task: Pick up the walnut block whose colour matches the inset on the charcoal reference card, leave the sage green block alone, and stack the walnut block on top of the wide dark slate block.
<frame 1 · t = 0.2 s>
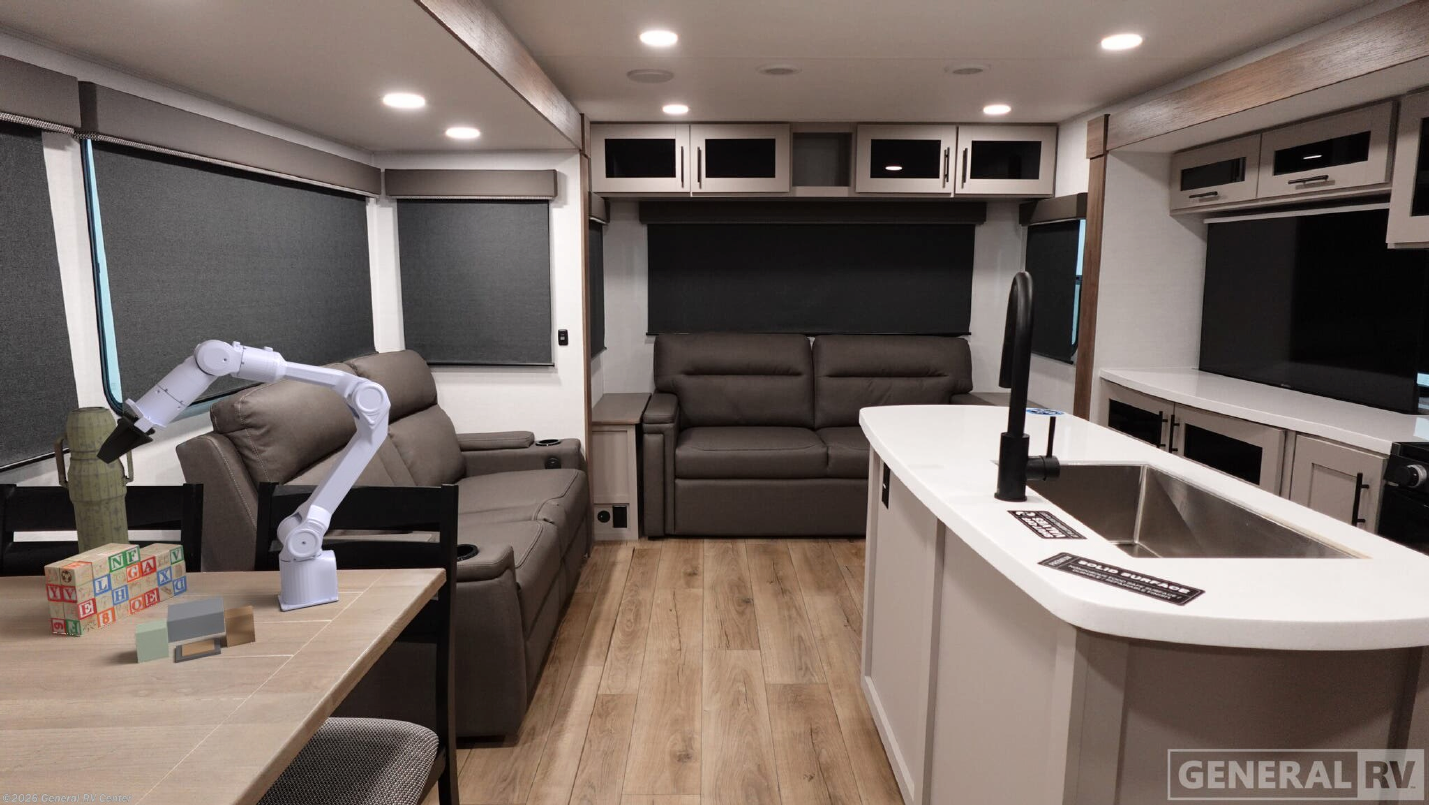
hand: (103, 456, 131), 31 cm above the table, tool tilted 45°, fingers open, 7 cm apart
sage green block: (154, 655, 129), on the table
stack of blocks: (124, 612, 146), on the table
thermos: (107, 583, 159), on the table
slate base block: (197, 630, 139), on the table
walnut block: (240, 640, 134), on the table
reference card: (198, 650, 130), on the table
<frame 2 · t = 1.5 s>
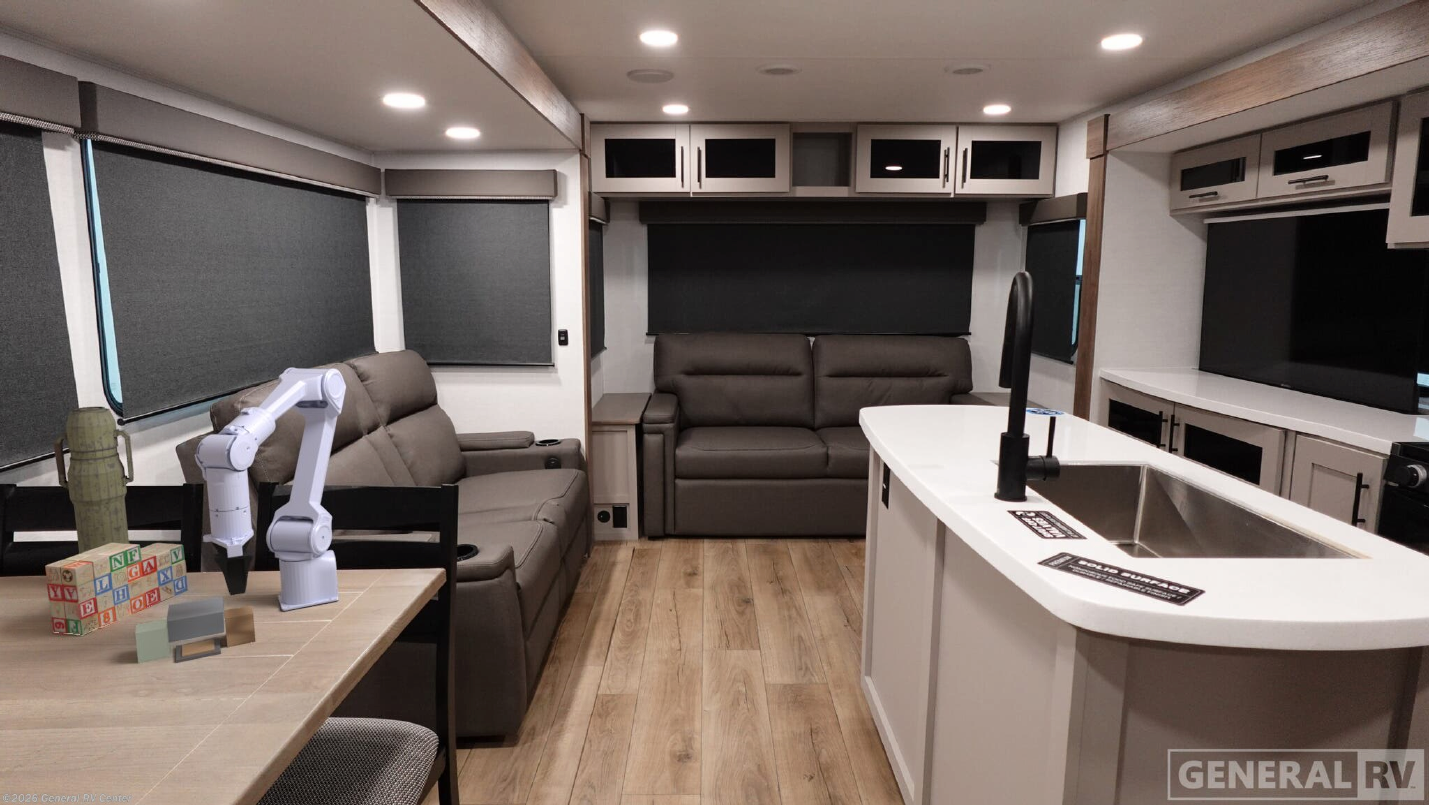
hand: (236, 586, 133), 9 cm above the table, tool pointing down, fingers open, 7 cm apart
nothing on the table moved.
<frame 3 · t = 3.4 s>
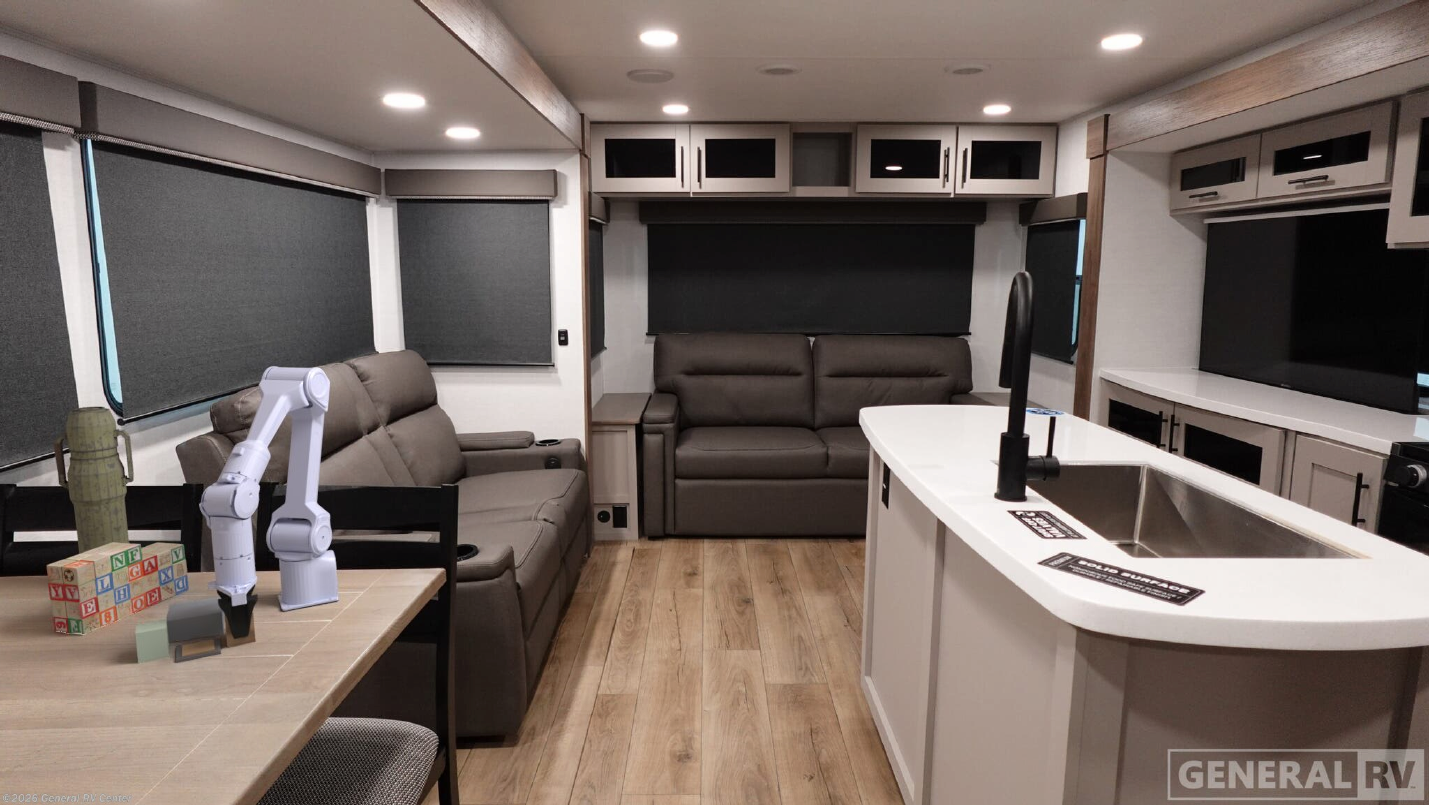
hand: (240, 632, 134), 1 cm above the table, tool pointing down, fingers closed on walnut block, 4 cm apart
walnut block: (240, 640, 134), on the table, touching gripper
everything else where it was.
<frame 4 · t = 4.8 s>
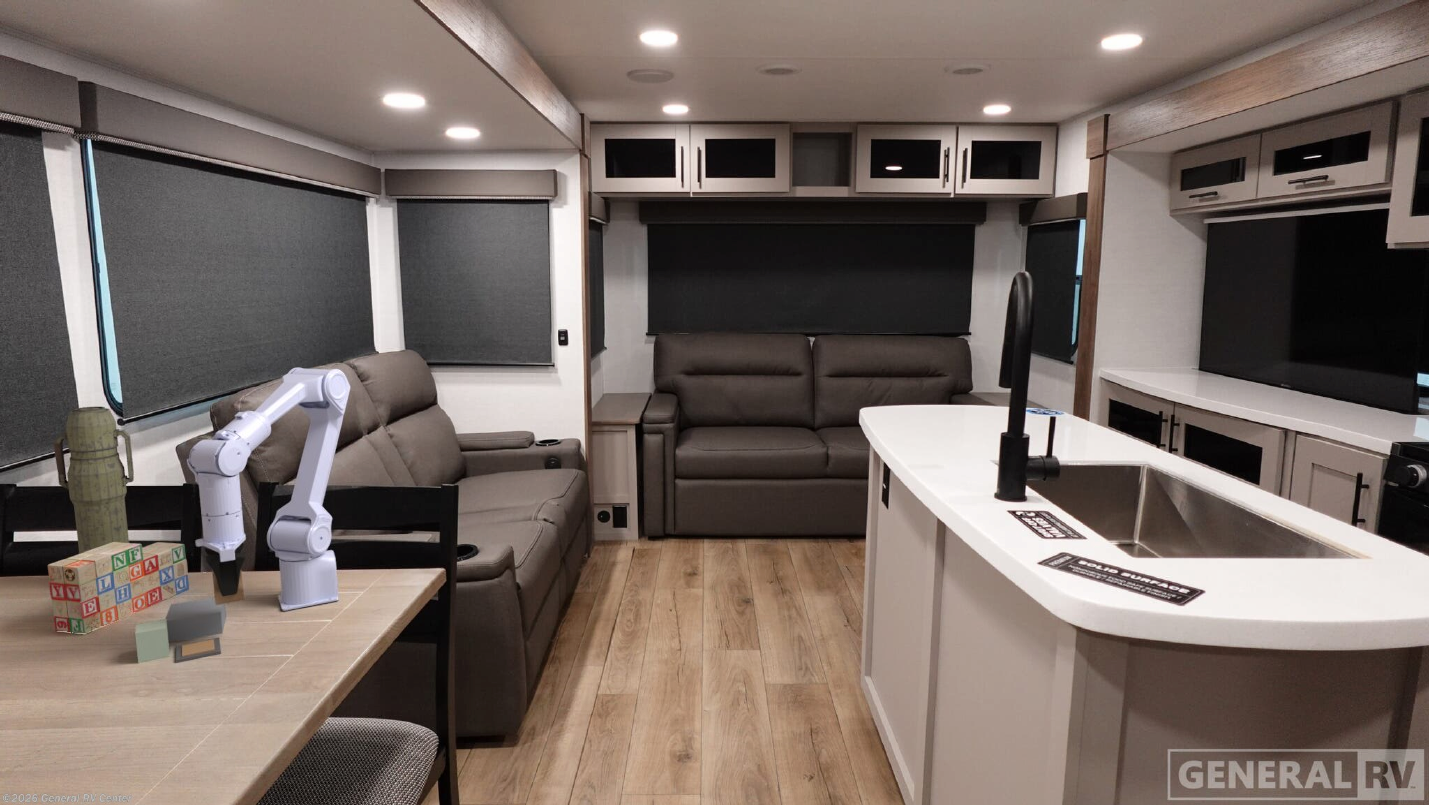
hand: (228, 590, 134), 8 cm above the table, tool pointing down, fingers closed on walnut block, 4 cm apart
walnut block: (229, 598, 134), point 7 cm above the table, touching gripper
everything else where it was.
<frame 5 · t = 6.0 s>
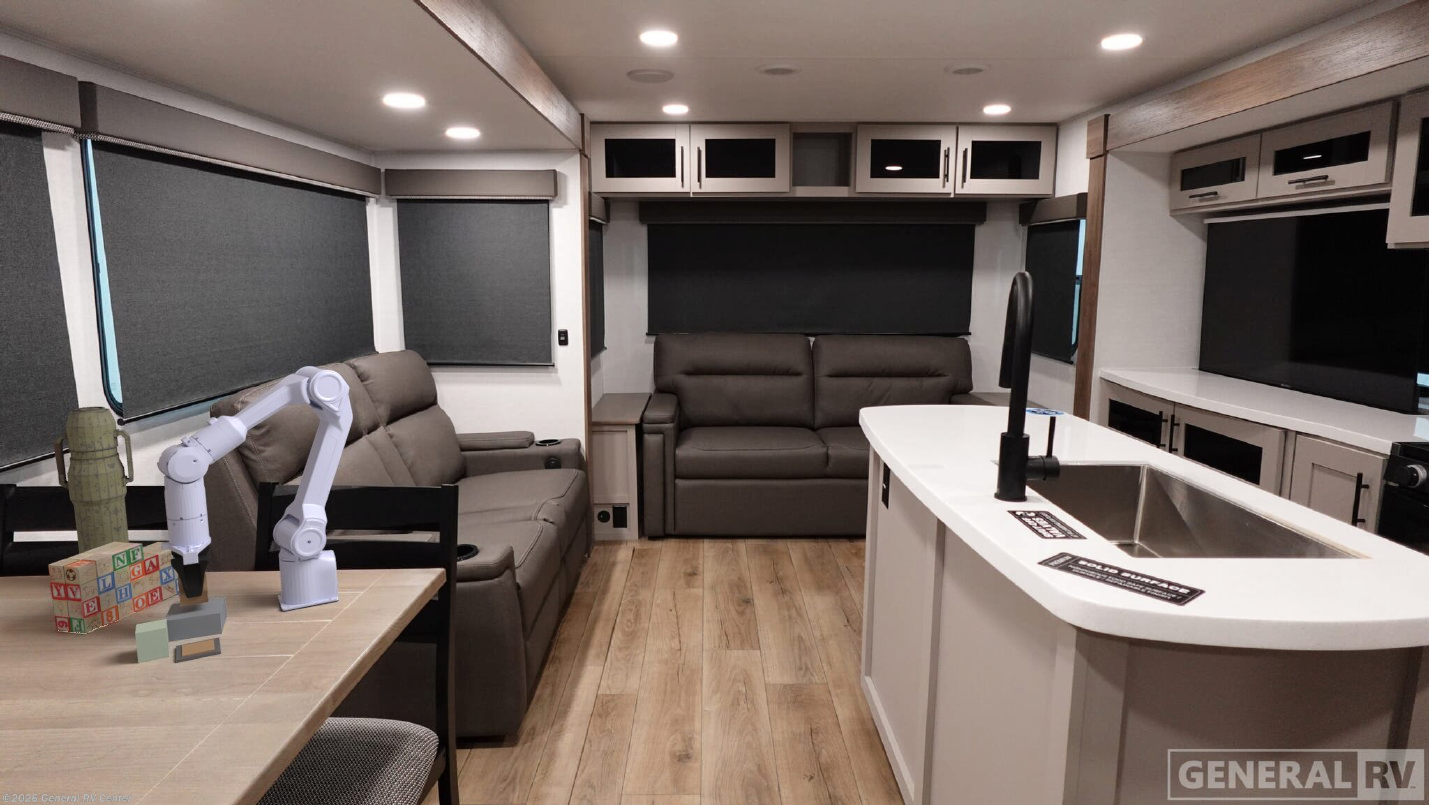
hand: (194, 592, 137), 7 cm above the table, tool pointing down, fingers closed on walnut block, 4 cm apart
walnut block: (194, 600, 138), point 5 cm above the table, touching gripper
everything else where it was.
when the fingers open (7 cm above the table, at t = 6.5 s): walnut block drops 1 cm, resting on slate base block.
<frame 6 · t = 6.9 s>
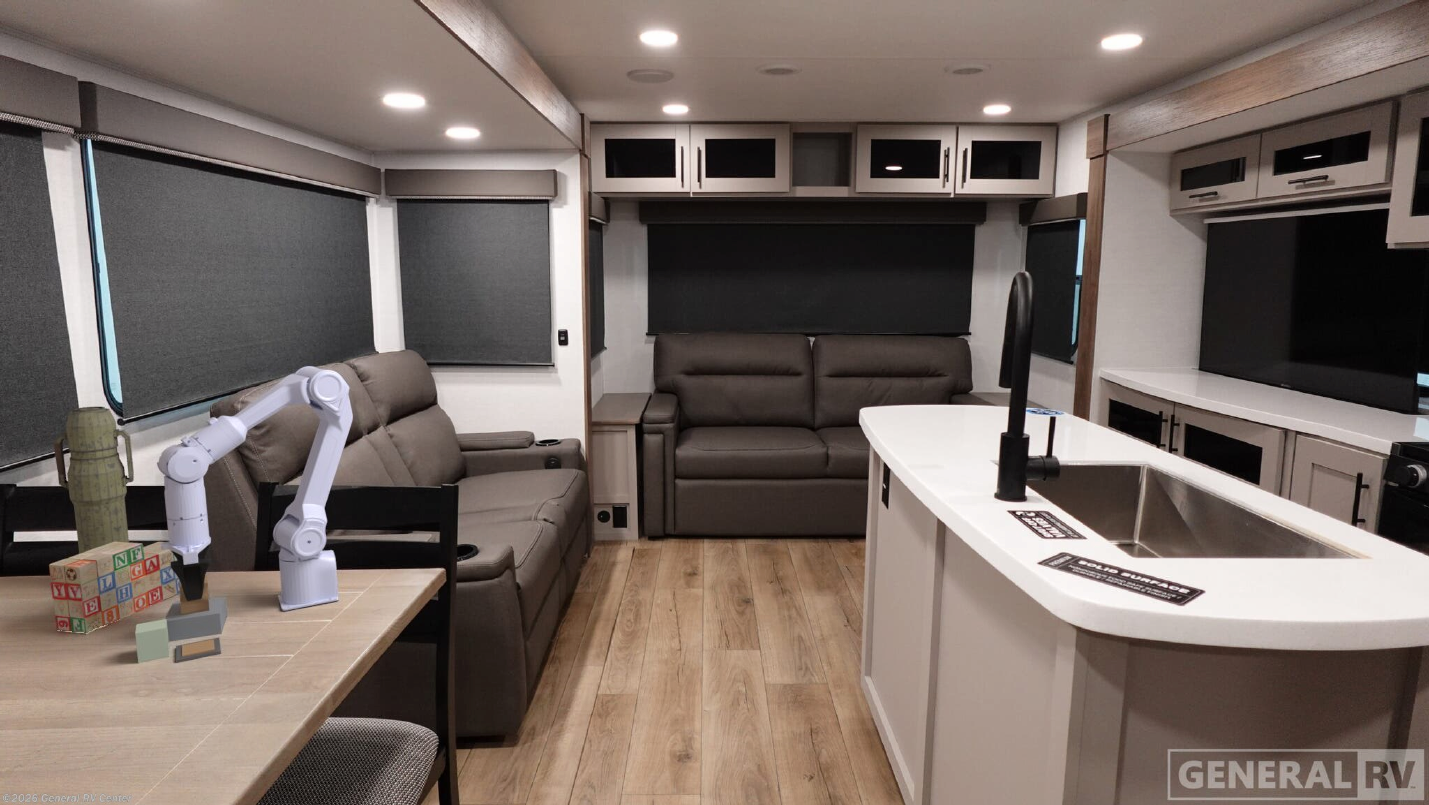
hand: (194, 592, 137), 7 cm above the table, tool pointing down, fingers open, 7 cm apart
slate base block: (197, 630, 139), on the table, touching walnut block
walnut block: (195, 608, 138), point 4 cm above the table, touching slate base block
everything else where it was.
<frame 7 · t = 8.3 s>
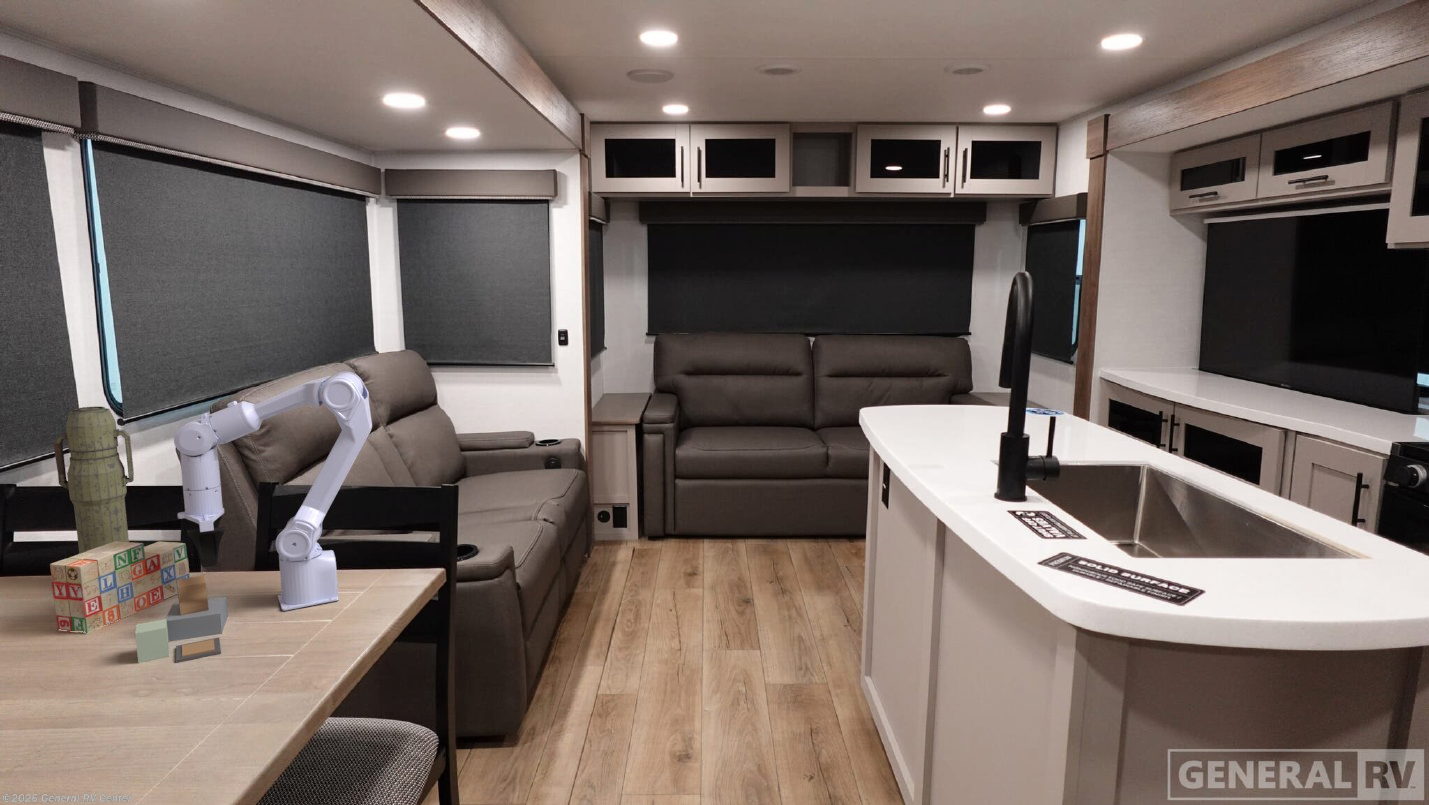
hand: (208, 559, 145), 9 cm above the table, tool pointing down, fingers open, 7 cm apart
slate base block: (198, 630, 139), on the table
walnut block: (194, 608, 138), point 4 cm above the table
everything else where it was.
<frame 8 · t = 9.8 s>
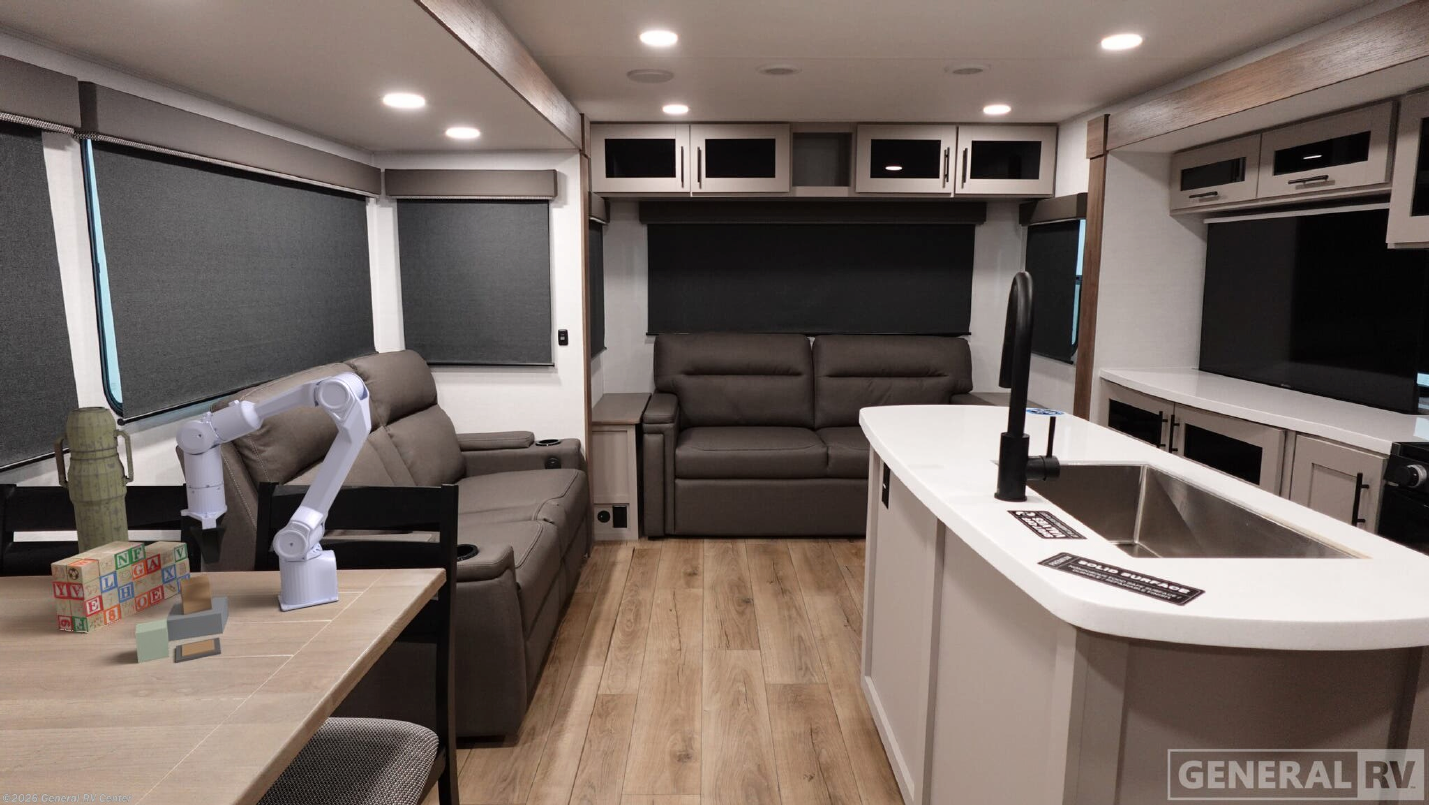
hand: (211, 556, 147), 9 cm above the table, tool pointing down, fingers open, 7 cm apart
slate base block: (199, 630, 139), on the table, touching walnut block
walnut block: (196, 608, 138), point 4 cm above the table, touching slate base block
at the end: walnut block 0.0 cm off-centre on the slate base block, point 4.0 cm above the slate base block's base; walnut block tilted 0°; sage green block moved 0.1 cm from its start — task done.
